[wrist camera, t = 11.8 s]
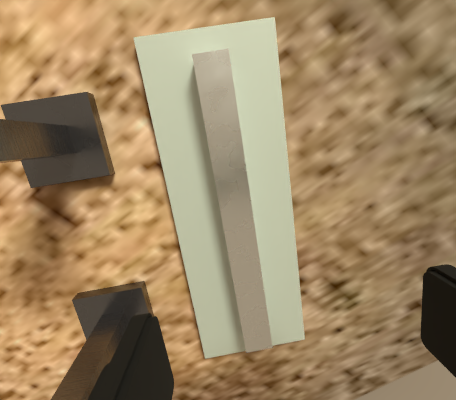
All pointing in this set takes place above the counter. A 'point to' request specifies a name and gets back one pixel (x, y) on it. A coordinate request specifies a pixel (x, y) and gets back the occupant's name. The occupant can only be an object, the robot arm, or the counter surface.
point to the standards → (65, 172)
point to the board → (205, 183)
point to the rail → (233, 192)
